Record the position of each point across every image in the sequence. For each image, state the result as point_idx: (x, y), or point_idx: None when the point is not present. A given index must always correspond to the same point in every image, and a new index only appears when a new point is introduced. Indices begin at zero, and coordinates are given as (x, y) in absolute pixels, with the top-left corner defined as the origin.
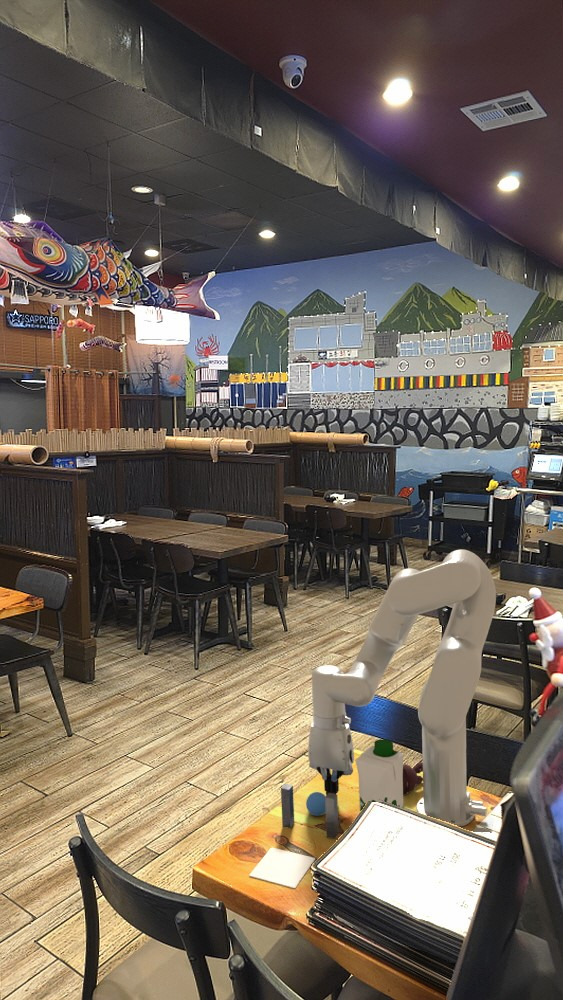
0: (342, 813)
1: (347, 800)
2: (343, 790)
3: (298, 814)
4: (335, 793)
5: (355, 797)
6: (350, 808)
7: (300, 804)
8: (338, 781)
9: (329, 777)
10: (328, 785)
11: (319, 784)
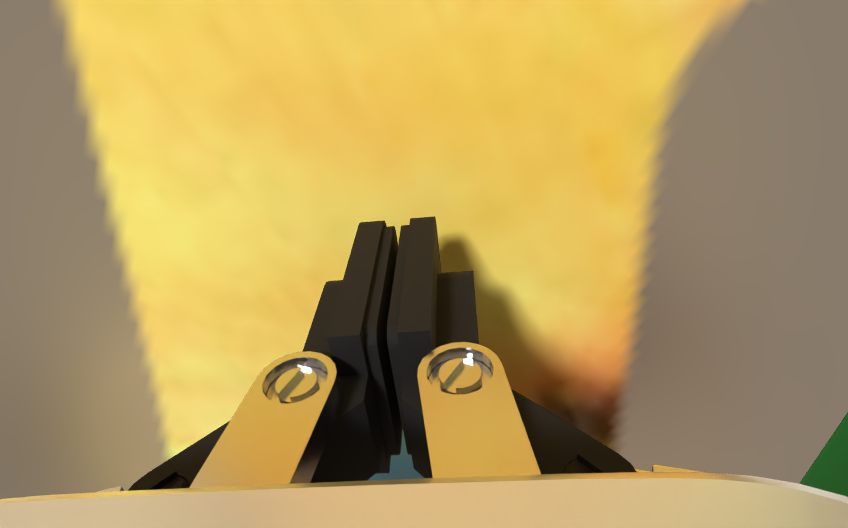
0: (576, 358)
1: (546, 176)
2: (419, 2)
3: None
4: (440, 266)
5: (609, 84)
6: (618, 278)
7: (221, 380)
8: (477, 333)
9: (377, 444)
10: (400, 423)
11: (97, 11)
